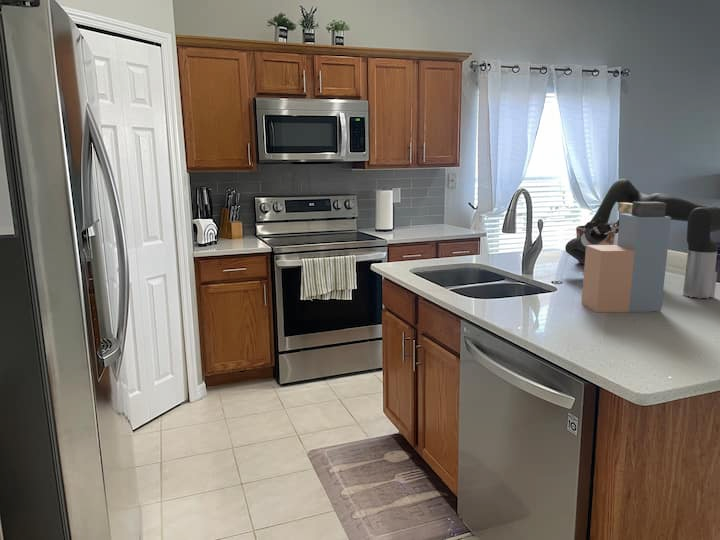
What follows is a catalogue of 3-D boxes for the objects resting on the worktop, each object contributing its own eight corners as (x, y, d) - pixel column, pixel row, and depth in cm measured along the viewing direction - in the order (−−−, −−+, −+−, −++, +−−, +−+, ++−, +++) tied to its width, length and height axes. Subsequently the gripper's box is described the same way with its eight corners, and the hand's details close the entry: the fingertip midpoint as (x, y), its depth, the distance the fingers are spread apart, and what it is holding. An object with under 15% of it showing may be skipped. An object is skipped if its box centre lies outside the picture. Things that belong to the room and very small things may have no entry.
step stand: (642, 302, 197) (651, 213, 191) (660, 311, 186) (671, 217, 179) (581, 303, 197) (588, 213, 190) (596, 312, 185) (604, 217, 179)
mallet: (610, 210, 200) (611, 198, 199) (632, 210, 201) (633, 198, 200) (640, 217, 180) (642, 203, 179) (664, 216, 180) (666, 203, 179)
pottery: (565, 262, 271) (568, 226, 267) (591, 259, 278) (594, 224, 274) (593, 269, 255) (597, 231, 251) (620, 266, 262) (624, 228, 258)
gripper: (575, 227, 224) (591, 211, 209) (609, 227, 225) (628, 210, 209) (577, 244, 222) (594, 229, 207) (612, 244, 222) (632, 229, 207)
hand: (611, 220), depth 208 cm, fingers open, 8 cm apart
